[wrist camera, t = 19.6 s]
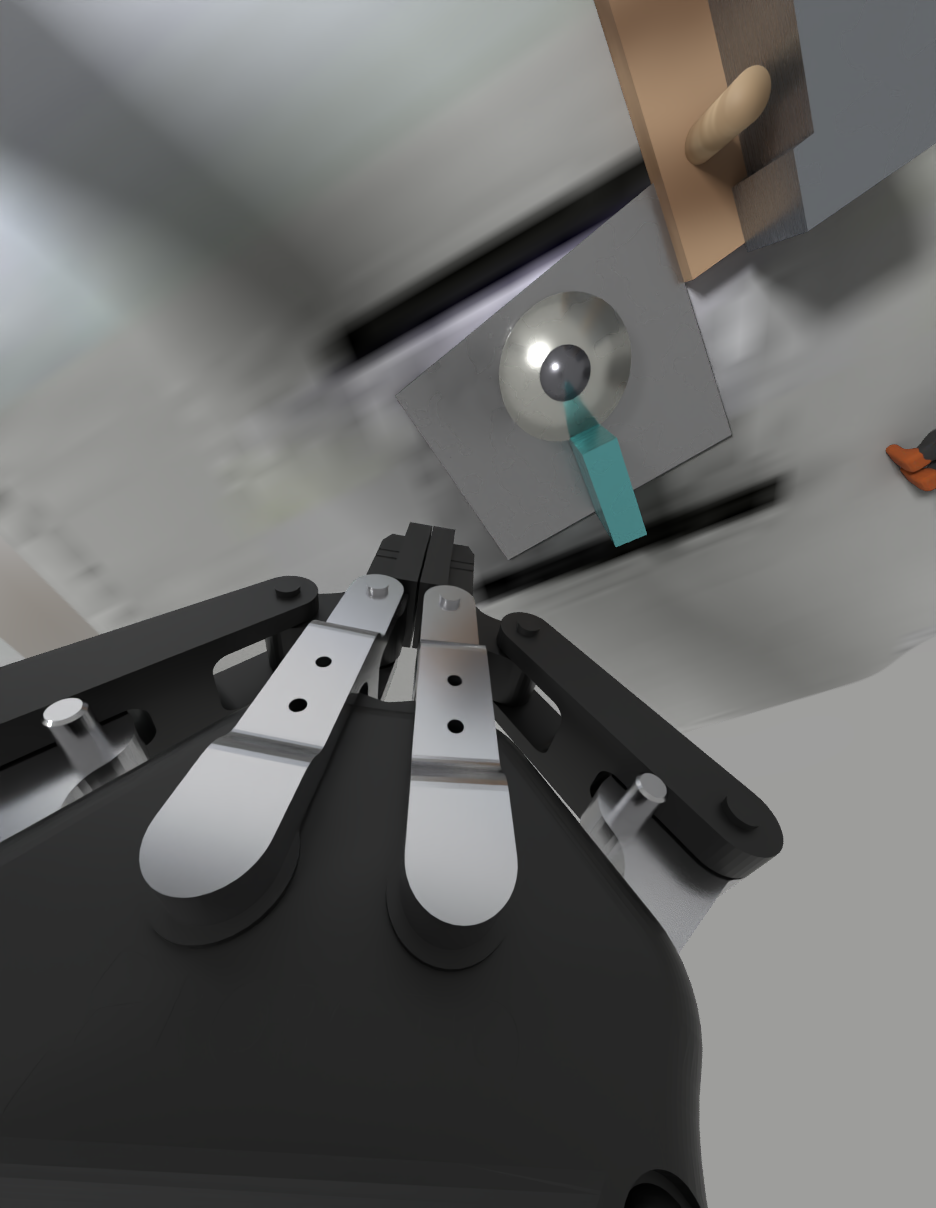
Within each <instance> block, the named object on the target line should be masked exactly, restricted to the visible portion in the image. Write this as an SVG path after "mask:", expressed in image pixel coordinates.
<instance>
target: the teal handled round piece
mask: <svg viewBox="0 0 936 1208" xmlns="http://www.w3.org/2000/svg"><path fill="white" fill-rule="evenodd" d="M630 368H631V345H630V340H629V336H628V333H627V330H626V327H625V325H624V323H623V321H622V319H621V318H620V316H619V315H618V313H617V312H616V311H615V310H614V309H613V308H612V307H611V306H610V305H609V304H608V303H607V302H605V301H604V300H603V299H601V298H599V297H597V296H595V295H592V294H589V293H585V292H578V291H571V292H563V293H558V294H555V295H552V296H549V297H547V298H545V299H543V300H541V301H540V302H538V303H537V304H535V305H534V306H533V307H531V308H530V309H529V310H528V311H527V312H526V313H525V314H524V315H523V316H522V317H521V318H520V319H519V320H518V321H517V323H516V324H515V325H514V327H513V329H512V330H511V332H510V334H509V336H508V338H507V340H506V342H505V345H504V348H503V350H502V354H501V359H500V366H499V383H500V391H501V395H502V399H503V402H504V405H505V407H506V409H507V411H508V413H509V415H510V416H511V418H512V419H513V420H514V422H515V423H516V424H517V425H518V426H519V427H520V428H521V429H523V430H524V431H525V432H527V433H528V434H530V435H531V436H534V437H536V438H538V439H542V440H546V441H553V442H559V441H568V440H569V442H570V445H571V447H572V450H573V453H574V455H575V458H576V461H577V463H578V466H579V469H580V471H581V474H582V477H583V480H584V482H585V485H586V488H587V490H588V493H589V496H590V498H591V501H592V504H593V506H594V509H595V512H596V514H597V516H598V517H599V519H600V521H601V523H602V524H603V526H604V528H605V530H606V531H607V533H608V535H609V536H610V538H611V540H612V542H613V543H614V545H615V547H618V546H620V545H622V544H625V543H627V542H630V541H632V540H635V539H637V538H640V537H642V536H644V535H647V533H646V529H645V526H644V523H643V520H642V517H641V513H640V510H639V507H638V504H637V501H636V497H635V494H634V491H633V488H632V485H631V481H630V478H629V475H628V472H627V469H626V465H625V462H624V459H623V456H622V453H621V449H620V446H619V443H618V440H617V438H616V437H615V436H614V435H613V434H611V433H610V432H609V431H608V430H607V429H605V428H604V427H603V426H602V425H600V424H601V423H602V422H603V421H605V420H606V419H607V418H608V416H609V415H610V414H611V413H612V412H613V410H614V409H615V407H616V406H617V404H618V403H619V401H620V399H621V397H622V395H623V393H624V390H625V388H626V386H627V382H628V378H629V374H630Z"/></svg>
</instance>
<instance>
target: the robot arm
mask: <svg viewBox="0 0 936 1208" xmlns="http://www.w3.org/2000/svg"><path fill="white" fill-rule="evenodd" d="M431 533H432V535H431ZM454 534H455V530H453V529H447V528H441V527H436V526H434V527H433V531H432V526H429V525H423V524H417V523H412V522H410V524H409V527H408V530H407V532H406V535H405V536H401V535H395V534H392V535H390V536H388V537H387V538H385V539H383V540H382V543H381V545H380V547H379V550H378V551H377V553H376V556H375V558H374V560H373V562H372V564H371V566H370V568H369V570H368V572H367V575H365V576H361V577H359V578H357V579H355V580H354V581H353V582H352V583H351V585H350V586H349V588H348V589H347V591H346V592H342V593H332V594H318V588H317V586H316V584H315V583H314V582H312V581H311V580H309V579H306V578H303V577H298V576H282V577H277V578H273V579H270V580H267V581H264V582H261V583H258V584H255V585H252V586H249V587H246V588H243V589H239V590H236V591H233V592H230V593H227V594H224V595H221V596H218V597H215V598H212V599H209V600H206V601H203V602H199V603H196V604H193V605H190V606H187V607H184V608H181V609H178V610H175V611H172V612H169V613H166V614H163V615H159V616H156V617H153V618H150V619H147V620H144V621H141V622H138V623H135V624H132V625H129V626H126V627H122V628H119V629H116V630H113V631H110V632H107V633H104V634H101V635H98V636H95V637H92V638H89V639H86V640H83V641H79V642H76V643H73V644H70V645H67V646H64V647H61V648H58V649H55V650H52V651H49V652H46V653H43V654H39V655H36V656H33V657H30V658H27V659H24V660H21V661H18V662H15V663H12V664H9V665H6V666H2V667H0V1208H708V1207H707V1201H706V1193H705V1185H704V1177H703V1169H702V1161H701V1146H700V1131H699V1095H700V1082H701V1068H702V1038H701V1025H700V1020H699V1014H698V1008H697V1003H696V1000H695V996H694V993H693V989H692V986H691V983H690V980H689V977H688V975H687V972H686V970H685V967H684V964H683V962H682V960H681V958H680V956H679V954H678V953H679V952H680V950H681V949H682V947H683V946H684V945H685V943H686V942H687V940H688V939H689V938H690V936H691V935H692V933H693V932H694V930H695V929H696V927H697V926H698V925H699V923H700V921H701V920H702V919H703V917H704V916H705V914H706V913H707V912H708V910H709V908H710V907H711V906H712V904H713V903H714V901H715V900H716V898H717V897H719V896H720V895H721V894H723V893H724V892H726V891H727V890H729V889H730V888H731V887H733V886H734V885H736V884H737V883H738V882H740V881H741V880H742V879H744V878H745V877H747V876H748V875H749V874H751V873H752V872H754V871H755V870H756V869H758V868H759V867H761V866H762V865H763V864H765V863H766V862H768V861H769V860H770V859H772V858H773V857H774V856H776V855H777V854H778V853H779V852H780V851H781V849H782V846H783V834H782V831H781V828H780V825H779V823H778V821H777V819H776V818H775V816H774V815H773V813H772V812H771V811H770V809H769V808H768V807H767V806H766V804H765V803H764V802H763V801H762V800H761V799H760V798H758V797H757V796H756V795H755V794H754V793H753V792H752V791H750V790H749V789H748V788H747V787H746V786H744V785H743V784H742V783H741V782H740V781H738V780H737V779H736V778H735V777H733V776H732V775H731V774H730V773H729V772H727V771H726V770H725V769H724V768H723V767H721V766H720V765H719V764H718V763H716V762H715V761H714V760H713V759H712V758H710V757H709V756H708V755H707V754H706V753H704V752H703V751H702V750H701V749H699V748H698V747H697V746H696V745H695V744H693V743H692V742H691V741H690V740H688V739H687V738H686V737H685V736H684V735H682V734H681V733H680V732H679V731H678V730H676V729H675V728H674V727H673V726H672V725H670V724H669V723H668V722H667V721H666V720H664V719H663V718H662V717H661V716H659V715H658V714H657V713H656V712H655V711H653V710H652V709H651V708H650V707H649V706H647V705H646V704H645V703H644V702H642V701H641V700H640V699H639V698H638V697H636V696H635V695H634V694H633V693H632V692H630V691H629V690H628V689H627V688H625V687H624V686H623V685H622V684H621V683H619V682H618V681H617V680H616V679H615V678H613V677H612V676H611V675H610V674H608V673H607V672H606V671H605V670H604V669H602V668H601V667H600V666H599V665H598V664H596V663H595V662H594V661H593V660H592V659H590V658H589V657H588V656H587V655H585V654H584V653H583V652H582V651H581V650H579V649H578V648H577V647H576V646H575V645H573V644H572V643H571V642H570V641H568V640H567V639H566V638H565V637H564V636H562V635H561V634H560V633H559V632H558V631H556V630H555V629H554V628H553V627H551V626H550V625H549V624H548V623H547V622H545V621H544V620H543V619H541V618H539V617H537V616H535V615H532V614H528V613H523V612H516V613H510V614H508V615H506V616H505V617H504V618H503V619H502V621H500V620H497V619H494V618H492V617H489V616H487V615H486V614H484V613H482V612H481V611H480V610H479V609H478V608H477V607H476V606H475V600H474V598H473V597H472V596H473V571H474V554H473V553H472V551H471V550H470V548H469V547H468V546H462V545H456V544H453V541H454ZM414 628H415V629H414ZM413 632H414V638H413V646H412V648H417V657H416V664H415V672H414V683H413V694H412V701H404V702H384V700H385V697H386V695H387V692H388V689H389V686H390V684H391V681H392V678H393V675H394V673H395V670H396V667H397V660H398V657H399V655H400V652H401V648H402V646H403V647H410V645H411V641H412V637H413ZM263 639H265V642H266V648H267V651H266V652H264V653H262V654H260V655H257V656H255V657H253V658H251V659H248V660H246V661H244V662H242V663H239V664H237V665H235V666H233V667H231V668H228V669H226V670H224V671H222V672H219V673H217V674H215V675H213V668H214V666H215V664H216V663H217V662H218V661H219V660H220V659H221V658H223V657H224V656H226V655H228V654H230V653H233V652H235V651H237V650H240V649H242V648H245V647H247V646H249V645H252V644H254V643H256V642H259V641H261V640H263ZM535 685H537V686H538V687H539V688H540V689H541V690H542V691H543V692H544V693H545V694H546V695H547V696H548V697H549V698H550V699H551V700H552V701H553V702H554V703H555V704H556V705H557V706H558V708H559V710H560V713H561V716H560V715H559V714H558V713H557V712H556V711H555V710H554V709H553V708H552V707H551V706H550V705H549V704H548V703H547V702H546V701H545V700H544V699H543V698H542V697H541V696H540V695H539V694H538V693H537V692H536V691H535V690H534V687H535ZM495 721H496V722H497V723H498V724H499V725H500V726H501V728H502V729H503V730H504V731H505V732H506V733H507V735H508V736H509V737H510V738H511V739H512V740H513V742H514V743H513V742H512V741H511V740H510V739H509V738H508V737H507V736H506V735H504V734H503V733H502V732H501V731H499V730H497V729H496V727H495ZM517 746H518V747H519V748H518V747H517ZM523 753H524V754H525V755H524V754H523ZM527 758H528V759H529V760H530V761H531V762H530V761H529V760H528V759H527ZM531 763H532V764H533V765H534V766H535V767H536V768H537V770H538V771H539V772H540V773H541V774H542V775H543V776H544V778H545V779H546V780H547V781H548V782H549V783H550V785H551V786H552V787H553V788H554V789H555V790H556V792H557V793H558V794H559V795H560V796H561V797H562V799H563V800H564V801H565V802H566V803H567V804H568V806H569V807H570V808H571V809H572V810H573V811H574V813H575V814H576V815H577V816H578V817H579V818H580V823H579V822H578V821H577V820H576V818H575V817H574V816H573V815H572V814H571V812H570V811H569V810H568V808H567V807H566V806H565V805H564V803H562V801H561V800H560V798H559V797H558V796H557V795H556V794H555V793H554V791H553V790H552V788H551V787H550V786H549V785H548V784H547V782H546V781H545V780H544V779H543V777H542V776H541V775H540V774H539V772H538V771H537V770H536V769H535V767H534V766H533V765H532V764H531Z"/></svg>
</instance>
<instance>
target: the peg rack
mask: <svg viewBox="0 0 936 1208" xmlns="http://www.w3.org/2000/svg"><path fill="white" fill-rule="evenodd" d="M594 2H595V6H596V9H597V12H598V15H599V18H600V22H601V25H602V28H603V31H604V34H605V37H606V41H607V44H608V47H609V50H610V53H611V57H612V60H613V63H614V66H615V69H616V73H617V76H618V79H619V82H620V85H621V89H622V92H623V95H624V98H625V101H626V105H627V108H628V111H629V114H630V117H631V121H632V124H633V127H634V130H635V133H636V136H637V140H638V143H639V146H640V149H641V152H642V156H643V159H644V162H645V165H646V168H647V172H648V175H649V178H650V181H651V184H653V183H654V186H655V189H656V193H657V196H658V199H659V202H660V206H661V209H662V212H663V215H664V218H665V222H666V225H667V228H668V231H669V234H670V238H671V241H672V244H673V247H674V251H675V254H676V257H677V260H678V263H679V267H680V270H681V273H682V276H683V280H684V282H687V281H691V280H693V279H695V278H696V277H698V276H699V275H700V274H702V273H703V272H705V271H706V270H707V269H709V268H710V267H712V266H713V265H714V264H716V263H717V262H719V261H720V260H721V259H723V258H724V257H726V256H727V255H728V254H730V253H731V252H733V251H734V250H735V249H737V248H738V247H740V246H741V245H742V244H744V243H745V241H744V237H743V233H742V229H741V224H740V220H739V216H738V212H737V208H736V204H735V200H734V196H733V192H732V187H734V186H735V185H736V184H738V183H739V182H740V181H742V180H743V179H744V178H745V177H747V172H746V167H745V163H744V158H743V154H742V149H741V145H740V141H739V136H738V134H740V133H741V132H742V131H743V130H744V129H746V128H747V127H748V126H749V125H750V124H752V123H753V122H754V121H755V120H756V119H757V118H758V117H759V116H760V115H761V113H762V112H763V110H764V108H765V107H766V104H767V102H768V99H769V96H770V91H771V78H770V75H769V72H768V71H767V69H766V68H764V67H763V66H760V65H754V66H751V67H749V68H747V69H746V70H744V71H743V72H742V73H741V74H740V75H739V76H738V77H737V78H736V79H735V80H734V81H733V82H732V84H731V85H730V86H729V87H728V88H727V83H726V79H725V74H724V70H723V65H722V61H721V57H720V52H719V48H718V43H717V39H716V34H715V30H714V26H713V21H712V17H711V12H710V8H709V4H708V0H594Z"/></svg>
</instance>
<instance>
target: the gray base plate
mask: <svg viewBox="0 0 936 1208" xmlns="http://www.w3.org/2000/svg"><path fill="white" fill-rule="evenodd" d="M571 291H578V292H585V293H589V294H592V295H595V296H597V297H599V298H601V299H603V300H604V301H605V302H607V303H608V304H609V305H610V306H611V307H612V308H613V309H614V310H615V311H616V312H617V313H618V315H619V316H620V318H621V319H622V321H623V323H624V325H625V327H626V330H627V333H628V336H629V340H630V345H631V368H630V374H629V378H628V382H627V386H626V388H625V390H624V393H623V395H622V397H621V399H620V401H619V403H618V404H617V406H616V407H615V409H614V410H613V412H612V413H611V414H610V415H609V416H608V418H607V419H606V420H605V421H603V422H602V423H601V424H600V425H602V426H603V427H604V428H605V429H607V430H608V431H609V432H610V433H611V434H613V435H614V436H615V437H616V438H617V440H618V443H619V446H620V449H621V453H622V456H623V459H624V462H625V465H626V469H627V472H628V475H629V478H630V481H631V485H632V488H633V490H634V489H636V488H638V487H639V486H641V485H643V484H645V483H646V482H648V481H650V480H652V479H654V478H655V477H657V476H659V475H661V474H662V473H664V472H666V471H668V470H670V469H671V468H673V467H675V466H677V465H679V464H680V463H682V462H684V461H686V460H687V459H689V458H691V457H693V456H695V455H696V454H698V453H700V452H702V451H703V450H705V449H707V448H709V447H711V446H712V445H714V444H716V443H718V442H720V441H721V440H723V439H725V438H727V437H728V436H730V435H732V434H731V431H730V427H729V424H728V421H727V418H726V415H725V411H724V408H723V405H722V402H721V399H720V395H719V392H718V389H717V386H716V382H715V379H714V376H713V373H712V370H711V366H710V363H709V360H708V357H707V354H706V350H705V347H704V344H703V341H702V337H701V334H700V331H699V328H698V325H697V321H696V318H695V315H694V312H693V308H692V305H691V302H690V299H689V296H688V292H687V289H686V286H685V283H684V280H683V276H682V273H681V270H680V267H679V263H678V260H677V257H676V254H675V251H674V247H673V244H672V241H671V238H670V234H669V231H668V228H667V225H666V222H665V218H664V215H663V212H662V209H661V206H660V202H659V199H658V196H657V193H656V189H655V186H654V183H653V184H651V185H650V186H649V187H648V188H647V189H645V190H644V191H643V192H642V193H640V194H639V195H638V196H637V197H636V198H634V199H633V200H632V201H631V202H630V203H628V204H627V205H626V206H625V207H624V208H622V209H621V210H620V211H619V212H617V213H616V214H615V215H614V216H613V217H611V218H610V219H609V220H608V221H607V222H605V223H604V224H603V225H602V226H600V227H599V228H598V229H597V230H596V231H594V232H593V233H592V234H591V235H590V236H588V237H587V238H586V239H585V240H584V241H582V242H581V243H580V244H579V245H577V246H576V247H575V248H574V249H573V250H571V251H570V252H569V253H568V254H567V255H565V256H564V257H563V258H562V259H561V260H559V261H558V262H557V263H556V264H554V265H553V266H552V267H551V268H550V269H548V270H547V271H546V272H545V273H544V274H542V275H541V276H540V277H539V278H537V279H536V280H535V281H534V282H533V283H531V284H530V285H529V286H528V287H527V288H525V289H524V290H523V291H522V292H521V293H519V294H518V295H517V296H516V297H514V298H513V299H512V300H511V301H510V302H508V303H507V304H506V305H505V306H504V307H502V308H501V309H500V310H499V311H498V312H496V313H495V314H494V315H493V316H491V317H490V318H489V319H488V320H487V321H485V322H484V323H483V324H482V325H481V326H479V327H478V328H477V329H476V330H474V331H473V332H472V333H471V334H470V335H468V336H467V337H466V338H465V339H464V340H462V341H461V342H460V343H459V344H458V345H456V346H455V347H454V348H453V349H451V350H450V351H449V352H448V353H447V354H445V355H444V356H443V357H442V358H441V359H439V360H438V361H437V362H436V363H435V364H433V365H432V366H431V367H430V368H428V369H427V370H426V371H425V372H424V373H422V374H421V375H420V376H419V377H418V378H416V379H415V380H414V381H413V382H411V383H410V384H409V385H408V386H407V387H405V388H404V389H403V390H402V391H401V392H399V393H398V394H397V395H396V396H395V397H396V398H397V400H398V401H399V403H400V404H401V406H402V407H403V409H404V410H405V411H406V413H407V414H408V416H409V417H410V419H411V420H412V422H413V423H414V424H415V426H416V427H417V429H418V430H419V432H420V433H421V435H422V436H423V437H424V439H425V440H426V442H427V443H428V445H429V446H430V448H431V449H432V451H433V452H434V453H435V455H436V456H437V458H438V459H439V461H440V462H441V464H442V465H443V466H444V468H445V469H446V471H447V472H448V474H449V475H450V477H451V478H452V479H453V481H454V482H455V484H456V485H457V487H458V488H459V490H460V491H461V493H462V494H463V495H464V497H465V498H466V500H467V501H468V503H469V504H470V506H471V507H472V508H473V510H474V511H475V513H476V514H477V516H478V517H479V519H480V520H481V521H482V523H483V524H484V526H485V527H486V529H487V530H488V532H489V533H490V535H491V536H492V537H493V539H494V540H495V542H496V543H497V545H498V546H499V548H500V549H501V550H502V552H503V553H504V555H505V556H506V558H507V559H508V560H509V559H511V558H513V557H515V556H516V555H518V554H520V553H522V552H523V551H525V550H527V549H529V548H531V547H532V546H534V545H536V544H538V543H539V542H541V541H543V540H545V539H547V538H548V537H550V536H552V535H554V534H556V533H557V532H559V531H561V530H563V529H564V528H566V527H568V526H570V525H572V524H573V523H575V522H577V521H579V520H580V519H582V518H584V517H586V516H588V515H589V514H591V513H593V512H595V509H594V506H593V504H592V501H591V498H590V496H589V493H588V490H587V488H586V485H585V482H584V480H583V477H582V474H581V471H580V469H579V466H578V463H577V461H576V458H575V455H574V453H573V450H572V447H571V445H570V442H569V440H568V441H559V442H553V441H546V440H542V439H538V438H536V437H534V436H531V435H530V434H528V433H527V432H525V431H524V430H523V429H521V428H520V427H519V426H518V425H517V424H516V423H515V422H514V420H513V419H512V418H511V416H510V415H509V413H508V411H507V409H506V407H505V405H504V402H503V399H502V395H501V391H500V383H499V366H500V359H501V354H502V350H503V348H504V345H505V342H506V340H507V338H508V336H509V334H510V332H511V330H512V329H513V327H514V325H515V324H516V323H517V321H518V320H519V319H520V318H521V317H522V316H523V315H524V314H525V313H526V312H527V311H528V310H529V309H530V308H531V307H533V306H534V305H535V304H537V303H538V302H540V301H541V300H543V299H545V298H547V297H549V296H552V295H555V294H558V293H563V292H571Z"/></svg>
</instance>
